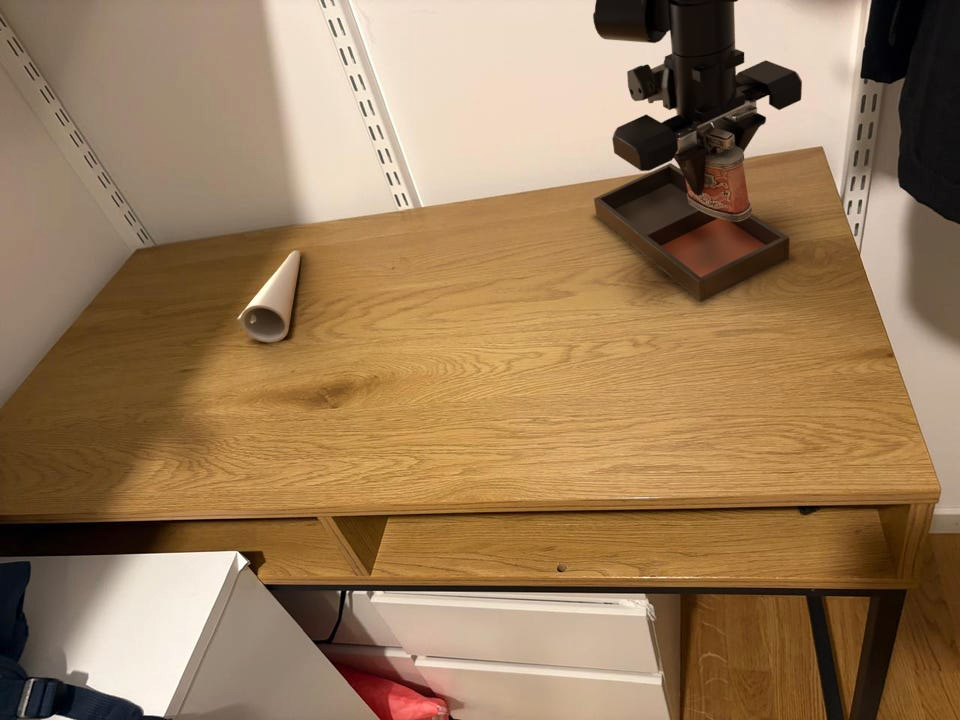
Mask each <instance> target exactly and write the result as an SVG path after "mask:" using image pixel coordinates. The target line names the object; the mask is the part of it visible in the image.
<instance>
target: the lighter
mask: <svg viewBox="0 0 960 720" xmlns="http://www.w3.org/2000/svg"><path fill="white" fill-rule="evenodd" d="M697 142H698V143H700V144H702V145H703V146H705V147H707V151H706V163H705V176H704V186H703V191H702V195H700V196H697V195H695V194H694V193H693V192H692V190H691V188H690V186H689V184H688V182H687V180H686V184H687V188H688V194H687V197H688V202H689V204H690V205H692V206H693V207H695V208H696V209H698V210H700V211H702V212H704V213H706V214H708V215H711V216H714V217H717V218H720V219H724V220H729V221H734V222H737V221H742V220H744V219H746V218H748V217H749V216H750V215H751V214H753V208H752V202H751V201H750V200H749V194H748V188H747V180H746V175H745V167H744V166H745V165H744V161H745V151H744V152H743V150H742V149H741V148H739V147H737V146H735V139H734V135H733V134H731V133H730V132H726V131H723V130H720V129H715V128H714V126H713V124H712V123H710V124H707V125H705V126H703V127H701V128H699V129H697ZM685 179H686V178H685Z"/></svg>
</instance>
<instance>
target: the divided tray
mask: <svg viewBox="0 0 960 720" xmlns="http://www.w3.org/2000/svg"><path fill="white" fill-rule="evenodd" d="M687 194H688V188H687V184H686V179H685V177H684V175H683V173H682V171H681V169H680V167H679V166H676V165H674V164H673V163H671V162H670V163H668V164H667V163H666V165H665V164H664V166H663V165H662V166H660V167H658V168H657V169H654V170H651V171H649V173H646V174H644V175H641V176H640V177H638V178H635V179H633V180H631V181H629V182H627V183H624V184H623V185H620V186H618V187H616V188H614V189H611V190H610V191H607V192H605V193H603V194H601V195H599V196H596V197H595V198H593V201H594V206H595V207H594V208H595V214H596V218H597V219H599V220H600V221H601V222H602V223H603V224H604V225H606V227H608V228H609V229H611V231H613V232H614V233H615V234H616V235H618V236H619V237H620V238H621V239H623V240H624V241H625V242H626V243H628V244H629V245H630V246H631V247H632V248H634V249H635V250H636V251H637V252H639V254H641V255H642V256H644V258H646V260H649V262H651V263H652V264H653V265H654V266H655V267H657V268H658V269H659V270H660V271H662V272H663V273H664V274H665V275H666V276H667V277H669V278H670V279H671V280H673V281H674V282H675V283H676V284H677V285H679V286H680V287H681V288H682V289H683V290H684V291H686V292H687V293H688V294H689V295H690V296H692V297H693V298H694V299H696V300H697V301H698V302H699V303H702V302H703V301H706V300H708V299H711V298H712V297H714V296H716V295H718V294H720V293H722V292H724V291H726V290H729V289H730V288H733V287H734V286H736V285H738V284H740V283H743V282H744V281H747V280H748V279H750V278H752V277H754V276H757V275H759V274H761V273H763V272H765V271H767V270H768V269H770V268H773V267H775V266H777V265H779V264H780V263H782V262H785V261H787V260H789V259H790V241H791V240H790V236H788V235H787V234H785V233H783V232H782V231H780V230H778V229H777V228H775V227H773V225H771V224H769V223H767V222H766V221H764V220H762V219H761V218H759V217H758V216H756V215H754V214H753V213H751V215H750V216H749V217H748V218H746V219H744V220H742V221H737V222H734V221H729V220H724V219H720V218H717V217H714V216H711V215H708V214H706V213H704V212H702V211H700V210H698V209H696V208H695V207H693V206H692V205H690V204H689V202H688V197H687Z"/></svg>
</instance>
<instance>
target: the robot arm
mask: <svg viewBox="0 0 960 720" xmlns="http://www.w3.org/2000/svg"><path fill="white" fill-rule="evenodd" d="M738 1H739V0H595V5H594V12H593V14H592V18H593V19H592V20H593V25H594V29H595V31H596V32H597V34H598V35H599V37H600V38H601V39H604V40H609V41H622V42H635V43H648V44H657V43H659V42H661V41H662V40H663V39H664V37H666V35H667V33H668V32H669V33H670V35H669V36H670V46H671V53H670V54H667V55H666V56H664V60H663V63H661V64H659V65H657V66H655V67H652V68H651V66H650V65H649V64H643V65H638V66H636V67H634V68H631V69H629V70H628V71H626V72H627V73H626V75H627V88H628V91H629V94H630V98H631V99H632V100H633V101H634V102H640V101H645V100H647V102H648V104H653V103H654V102H659V101H662V107H663V108H665V109H667V110H668V111H672V110H676V114H675V115H674V116H671V117H669V118H667V119H666V120H663V121H662V122H661V121H660V120H658V119H655V118H653V117H652V116H650V115H648V114H644V115H642V116H640V117H637V118H635V119H633V120H631V121H629V122H626V123H624V124H622V125H619V126H617V128H615V131H614V132H613V134H612V139H611V141H612V147H613V153H614V154H615V155H616V156H618V157H619V158H621V159H622V160H624V161H625V162H627V163H629V164H630V165H632V166H633V167H634V168H636V169H637V170H639V171H640V172H648V171H649V172H651V171H653V170H655V169H656V168H660V167H662V166H663V165H665V164H667V163H669V162H671V161H673V159H674V161H675V162H676V164H677V166H678V168H679V169H681V171H682V173H683V175H684V177H685V178H686V180H687V182H688V184H689V186H690V188H691V190H692V192H693V193H694V194H695V195H697V196H700V195H702V191H703V186H704V176H705V163H706V151H707V147H705V146H703V145H702V144H700V143H698V142H697V129H699V128H701V127H703V126H705V125H707V124H710V123H711V124H712V125H713V127H714V128H715V129H720V130H723V131H726V132H730V133H731V134H733V135H734V139H735V146H737V147H739V148H741V149H742V150H743V152H744V153H745V151H746V150H747V148H748V146H749V144H750V143H751V141H752V140H753V138H754V136H755V135H756V133H757V132H758V131H759V129H760V127H762V126H764V125H765V124H766V122H767V117H766V116H765V115H763V114H761V113H758V107H757V101H759V100H761V99H764V98H766V97H767V96H768V105H769V106H771V107H773V108H774V109H776V110H778V111H781V110H783V109H785V108H787V107H790V106H791V105H794V104H796V103H799V102H800V101H801V100H802V93H803V92H802V91H803V81H802V79H801V76H800V75H799V73H798V72H797V71H795V70H793V69H790V68H788V67H785V66H782V65H779V64H776V63H774V62H772V61H769V60H766V59H765V60H763V61H761V62H759V63H756V64H754V65H752V66H750V67H746V68H745V69H743V70H741V71H739V72H737V67H738V66H740V65H743V64H744V63H745V52H744V51H742V50H739V49H737V48H736V24H735V23H736V22H735V3H736V2H738Z"/></svg>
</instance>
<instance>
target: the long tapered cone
mask: <svg viewBox="0 0 960 720" xmlns="http://www.w3.org/2000/svg"><path fill="white" fill-rule="evenodd" d="M300 262H301V252H300V251H299V250H297V249H296V250H293V251H292V252H291V253H290V254H289V255H288V256H287V258H286V259H285V260H284V261H283V263H282V264H281V265H280V266H279V267H278V269H277V270H276V271H275V272H274V273H273V275H272V276H270V277H269V279H268V280H267V282H266V283H264V285H263V286H262V288H261V289H260V290H259V291H258V292H257V293H256V294H255V296H254V297H253V299H252V300H251V301H250V302H249V303H248V305H247V306H246V307H245V308H244V310H243V311H242V312H241V313H240V314H239V316H238V317H237V319H236V320H237V323H238V324H239V325H240V327H241V328H242V330H243V331H244V333H245V334H246V336H247V337H248V339H249V340H256V341H259V342H263V343H270V344H271V343H278V342H280V341H282V340H284V338H285V337H286V336H287V335H288V333H289V329H290V323H291V316H292V310H293V305H294V299H295V293H296V287H297V281H298V275H299V269H300V264H301V263H300ZM251 320H252V321H251Z"/></svg>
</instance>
